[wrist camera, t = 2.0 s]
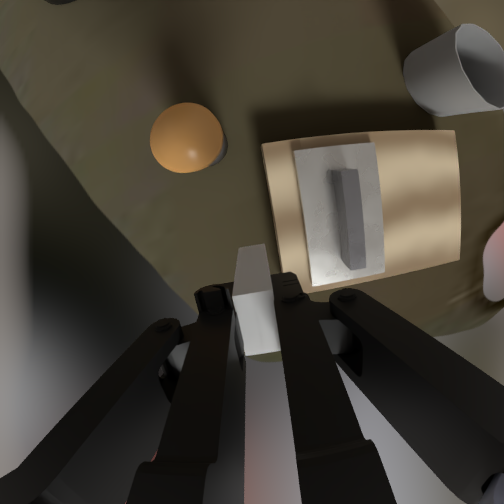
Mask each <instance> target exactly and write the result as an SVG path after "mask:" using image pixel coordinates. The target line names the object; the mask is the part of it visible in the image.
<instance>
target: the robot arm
mask: <svg viewBox="0 0 504 504" xmlns="http://www.w3.org/2000/svg"><path fill="white" fill-rule="evenodd" d="M45 1H47V2H48V3H50V4H55V5H59V4H66V3H70V2H73V1H75V0H45ZM194 296H195V300H196V303H197V307H198V311H199V316H198V319H197V322H195V323H192V324H190V325H186V326H183V327H181V326H180V322H179V320H177V319H174V318H164V319H160V320H158V321H157V322H155V323H153V324H151V325H150V326H149V327H148V328H147V329H146V330H145V331H144V332H143V333H142V334H141V335H140V336H139V337H138V338H137V339H136V341H135V342H134V343H133V344H132V345H131V346H130V347H129V348H128V349H127V350H126V351H125V352H124V353H123V354H122V355H121V356H120V357H119V358H118V359H117V360H116V361H115V362H114V363H113V364H112V366H111V367H110V368H109V369H108V370H107V371H106V372H105V373H104V374H103V375H102V376H101V377H100V378H99V379H98V380H97V381H96V382H95V383H94V384H93V385H92V387H91V388H90V389H89V390H88V391H87V392H86V393H85V394H84V395H83V396H82V397H81V398H80V399H79V400H78V402H77V403H76V404H75V405H74V406H73V407H72V408H71V409H70V410H69V411H68V412H67V413H66V415H65V416H64V417H63V418H62V419H61V420H60V421H59V422H58V423H57V424H56V425H55V426H54V428H53V429H52V430H51V431H50V432H49V433H48V434H47V435H46V436H45V437H44V439H43V440H42V441H41V442H40V443H39V444H38V445H37V446H36V448H35V449H34V450H33V451H32V452H31V453H30V454H29V455H28V457H27V458H26V459H25V460H24V461H23V462H22V463H21V464H20V466H19V467H18V468H16V469H15V470H13V471H11V472H10V473H8V474H7V475H5V476H3V477H2V478H0V504H125V502H126V501H127V502H126V504H244V456H245V451H244V450H245V387H246V361H245V357H244V351H245V355H246V356H248V355H256V354H262V353H269V352H275V351H281V354H282V361H283V367H284V374H285V381H286V388H287V395H288V402H289V408H290V416H291V423H292V430H293V437H294V445H295V452H296V461H297V469H298V476H299V485H300V492H301V500H302V504H397V503H396V500H395V497H394V494H393V492H392V489H391V486H390V483H389V480H388V478H387V475H386V472H385V469H384V467H383V464H382V461H381V458H380V456H379V453H378V451H377V448H376V447H375V444H374V443H373V441H372V440H370V439H369V440H366V439H365V438H364V436H363V434H362V431H361V429H360V426H359V423H358V420H357V418H356V415H355V412H354V410H353V407H352V404H351V401H350V399H349V396H348V394H347V391H346V388H345V386H344V383H343V381H342V378H341V375H340V373H339V370H338V368H337V365H336V363H337V364H338V365H339V366H340V367H341V368H342V370H343V371H344V372H345V373H346V374H347V375H348V377H349V378H350V379H351V380H352V381H353V382H354V383H355V385H356V386H357V387H358V388H359V389H360V390H361V391H362V392H363V394H364V395H365V396H366V397H367V398H368V399H369V400H370V402H371V403H372V404H373V405H374V406H375V407H376V408H377V409H378V411H379V412H380V413H381V414H382V415H383V416H384V417H385V418H386V420H387V421H388V422H389V423H390V424H391V425H392V426H393V427H394V429H395V430H396V431H397V432H398V433H399V434H400V435H401V436H402V437H403V439H404V440H405V441H406V442H407V443H408V444H409V446H410V447H411V448H412V449H413V450H414V451H415V452H416V453H417V454H418V456H419V457H420V458H421V459H422V460H423V461H424V462H425V463H426V464H427V466H428V467H429V468H430V469H431V470H432V471H433V472H434V473H435V474H436V476H437V477H438V478H439V479H440V480H441V481H442V482H443V483H444V484H445V486H446V487H447V488H449V490H450V491H452V492H453V493H454V494H455V495H456V496H457V497H458V498H459V499H461V500H462V501H464V502H465V503H467V504H504V386H503V385H501V384H500V383H499V382H497V381H496V380H494V379H493V378H492V377H490V376H489V375H487V374H486V373H484V372H483V371H482V370H480V369H479V368H477V367H476V366H474V365H473V364H471V363H470V362H468V361H467V360H466V359H464V358H463V357H461V356H460V355H458V354H456V353H455V352H454V351H452V350H451V349H449V348H448V347H446V346H445V345H443V344H442V343H440V342H439V341H437V340H436V339H435V338H433V337H432V336H430V335H429V334H427V333H425V332H424V331H422V330H421V329H419V328H418V327H416V326H415V325H413V324H412V323H410V322H409V321H407V320H406V319H404V318H403V317H401V316H400V315H398V314H397V313H395V312H394V311H392V310H390V309H389V308H387V307H386V306H384V305H383V304H381V303H380V302H378V301H376V300H375V299H373V298H372V297H370V296H369V295H367V294H366V293H364V292H362V291H360V290H358V289H352V288H348V289H347V288H345V289H342V290H338V291H336V292H334V293H332V294H331V295H330V298H329V302H314V301H310V298H309V296H308V295H307V294H306V293H304V292H303V290H302V287H301V285H300V282H299V280H298V277H297V275H296V274H294V273H292V272H285V273H279V274H273V275H270V271H269V265H268V259H267V254H266V248H265V244H259V245H253V246H247V247H241V248H239V250H238V257H237V264H236V271H235V278H234V282H230V283H224V284H213V285H209V286H205V287H203V288H200V289H199V290H197V291H196V292H195V293H194ZM160 367H161V368H162V371H163V375H162V376H161V377H159V375H158V371H159V369H160ZM157 449H158V451H157ZM156 451H157V455H156V457H155V459H154V460H153V461H152V462H150V461H151V459H152V458H153V456H154V454H155V452H156Z"/></svg>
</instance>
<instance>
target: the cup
mask: <svg viewBox="0 0 504 504" xmlns="http://www.w3.org/2000/svg"><path fill="white" fill-rule="evenodd" d="M403 76H404V80H405V83H406V87H407V90H408V91H409V93H410V94H411V96H412V97H413V99H414V101H415V102H416V104H418V105H419V106H420V107H421V108H423V109H424V110H425V111H426V112H428V113H429V114H432V115H436V116H440V117H444V116H450V115H457V114H465V113H473V112H481V111H491V110H500V109H503V108H504V51H503V49H502V48H501V46H500V44H499V43H497V41H496V40H495V39H494V38H493V37H492V36H491V35H490V34H489V33H488V32H487V31H486V30H484V29H482V28H480V27H479V26H477V25H475V24H462V25H460V26H457V27H455V28H454V29H452V30H450V31H448V32H446V33H444V34H442V35H440V36H439V37H437V38H435V39H433V40H431V41H430V42H428V43H426V44H424V45H422V46H421V47H419V48H417V49H415V50H414V51H412V52H411V53H410V54H409V55H408V57H407V58H406V59H405V60H404V68H403Z"/></svg>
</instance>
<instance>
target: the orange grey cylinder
mask: <svg viewBox="0 0 504 504" xmlns="http://www.w3.org/2000/svg"><path fill="white" fill-rule="evenodd" d="M150 146H151V150H152V153H153V155H154V157H155V158H156V160H157V161H158V162H159V163H160V164H161V165H162V166H163V167H165V168H166V169H168V170H171V171H173V172H178V173H188V172H194V171H199V170H202V169H204V168H206V167H208V166H212V165H215V164H217V163H219V162H220V161H221V160H222V159H223V158H224V156H225V155H226V152H227V148H228V142H227V139H226V136H225V135H224V133H223V130H222V127H221V125H220V123H219V121H218V120H217V119H216V117H215V116H214V115H213V114H212V112H210V111H209V110H208V109H207V108H205V107H203V106H202V105H199V104H195V103H180V104H176V105H173V106H171V107H169V108H168V109H166V110H165V111H164V112H162V113H161V114H160V115H159V117H158V118H157V119H156V121H155V123H154V125H153V127H152V130H151V134H150Z"/></svg>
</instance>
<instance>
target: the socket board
mask: <svg viewBox="0 0 504 504" xmlns="http://www.w3.org/2000/svg"><path fill="white" fill-rule="evenodd" d="M372 142H374V143H375V149H376V156H377V164H378V172H379V181H380V190H381V201H382V214H383V229H384V252H385V272H384V273H379V274H375V275H370V276H365V277H360V278H355V279H350V280H345V281H340V282H335V283H330V284H325V285H320V286H314V287H313V286H312V284H311V279H310V270H309V261H308V253H307V245H306V237H305V230H304V222H303V215H302V208H301V201H300V195H299V188H298V182H297V175H296V169H295V163H294V157H293V151H295V150H303V149H311V148H319V147H328V146H337V145H348V144H359V143H372ZM261 152H262V157H263V163H264V169H265V174H266V180H267V186H268V192H269V198H270V204H271V210H272V216H273V222H274V228H275V234H276V240H277V247H278V253H279V259H280V266H281V272H282V273H285V272H292V273H294V274H296V275H297V277H298V280H299V282H300V285H301V287H302V290H303V292H304V293H312V292H317V291H322V290H327V289H333V288H338V287H343V286H348V285H353V284H357V283H362V282H367V281H372V280H376V279H381V278H385V277H390V276H394V275H399V274H403V273H407V272H412V271H416V270H420V269H424V268H428V267H433V266H437V265H441V264H445V263H448V262H452V261H456V260H459V259H460V239H461V197H460V177H459V165H458V154H457V146H456V138H455V131H454V130H399V131H376V132H360V133H347V134H335V135H325V136H316V137H307V138H299V139H292V140H284V141H277V142H271V143H264V144H262V145H261Z"/></svg>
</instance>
